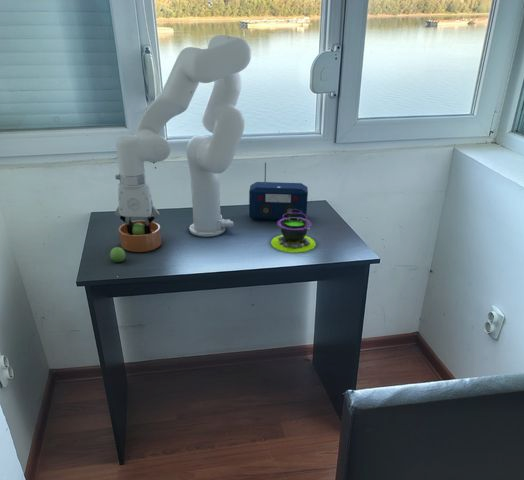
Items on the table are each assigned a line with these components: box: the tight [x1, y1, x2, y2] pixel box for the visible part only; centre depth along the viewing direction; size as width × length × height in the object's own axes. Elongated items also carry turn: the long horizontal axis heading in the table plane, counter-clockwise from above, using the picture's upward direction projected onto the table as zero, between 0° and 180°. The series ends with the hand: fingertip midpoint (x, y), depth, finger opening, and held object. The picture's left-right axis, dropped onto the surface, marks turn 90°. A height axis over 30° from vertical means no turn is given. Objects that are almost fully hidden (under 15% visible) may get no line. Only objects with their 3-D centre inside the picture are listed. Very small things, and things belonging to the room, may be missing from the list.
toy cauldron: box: [270, 209, 316, 254], centre depth 172 cm, size 15×15×11 cm
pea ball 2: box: [132, 223, 145, 235], centre depth 169 cm, size 5×5×5 cm
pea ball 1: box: [109, 246, 126, 263], centre depth 160 cm, size 5×5×5 cm
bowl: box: [118, 219, 163, 253], centre depth 170 cm, size 13×13×6 cm
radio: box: [248, 162, 309, 222], centre depth 188 cm, size 21×9×20 cm, turn 87°
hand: (139, 234), depth 170 cm, fingers closed on pea ball 2, 4 cm apart
